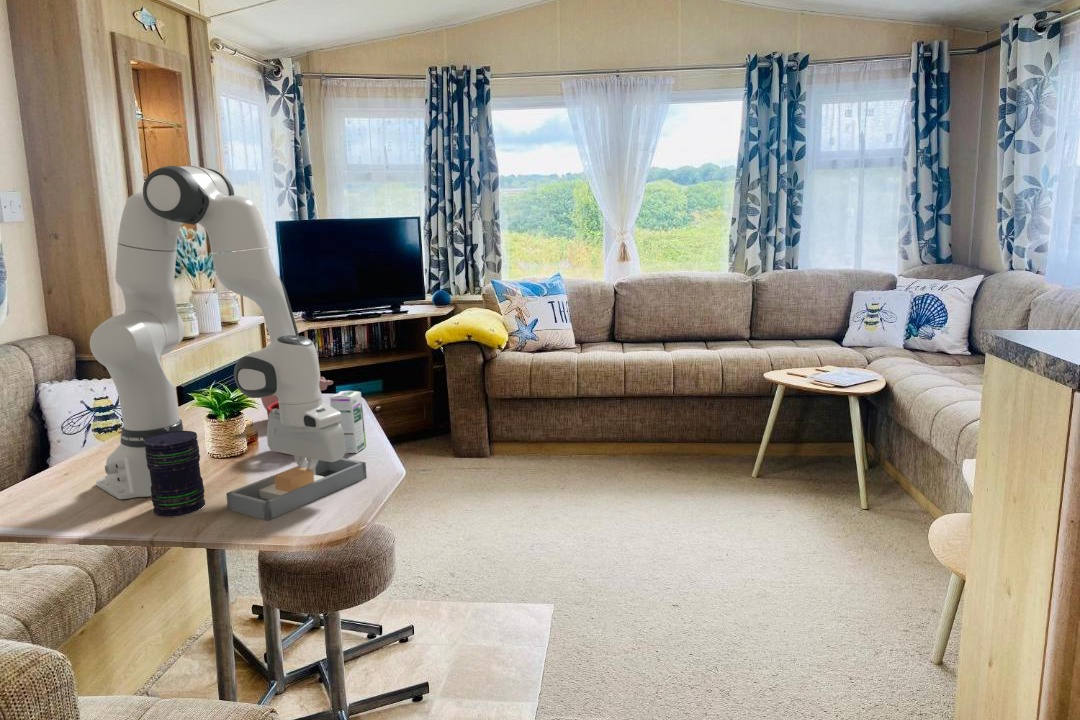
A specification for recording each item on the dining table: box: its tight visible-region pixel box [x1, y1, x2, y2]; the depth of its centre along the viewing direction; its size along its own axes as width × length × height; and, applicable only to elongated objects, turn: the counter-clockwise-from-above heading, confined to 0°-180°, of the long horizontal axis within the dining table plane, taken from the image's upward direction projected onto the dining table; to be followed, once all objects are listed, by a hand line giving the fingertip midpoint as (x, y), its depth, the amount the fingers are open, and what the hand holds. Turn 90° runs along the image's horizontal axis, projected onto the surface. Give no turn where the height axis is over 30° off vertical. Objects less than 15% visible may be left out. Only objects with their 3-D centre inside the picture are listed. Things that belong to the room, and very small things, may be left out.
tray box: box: [225, 457, 368, 521], centre depth 167 cm, size 12×27×4 cm, turn 148°
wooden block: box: [273, 466, 314, 492], centre depth 165 cm, size 5×6×3 cm
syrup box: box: [329, 390, 367, 454], centre depth 194 cm, size 6×6×14 cm
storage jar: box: [144, 430, 206, 518], centre depth 159 cm, size 10×10×15 cm
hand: (308, 475), depth 168 cm, fingers closed, pressing on wooden block
